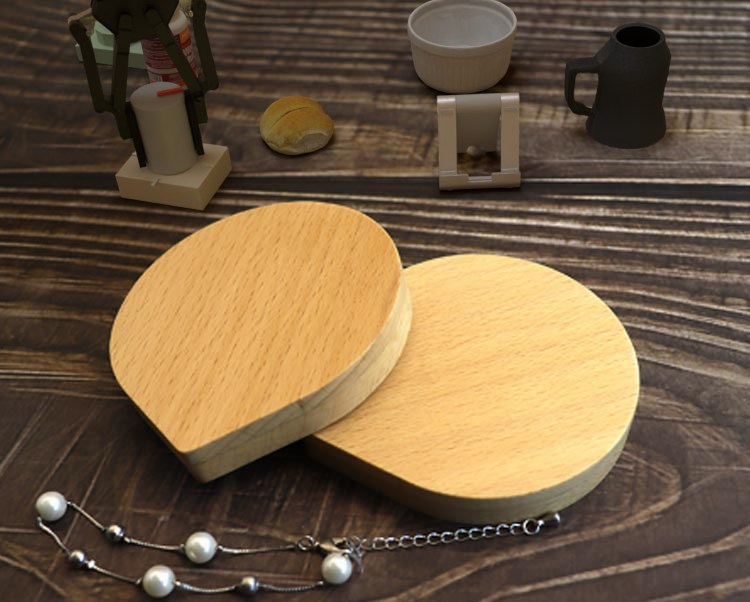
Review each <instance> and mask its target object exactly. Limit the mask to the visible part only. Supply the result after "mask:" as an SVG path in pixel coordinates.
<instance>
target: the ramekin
mask: <svg viewBox="0 0 750 602" xmlns="http://www.w3.org/2000/svg"><path fill="white" fill-rule="evenodd" d="M517 19H518V18H517V15H516V14H515V13H514V11H513V10H512V9H511V8H510V7H508V6H507V4H504V3H502V2H500V1H498V0H428V1H426V2H424V3H422V4H420V5H419V6H417V8H415V9H414V10H413V11H411V13H410V15H409V17H408V19H407V36H408V39H409V42H410V48H411V49H410V50H411V56H412V61H413V62H412V63H413V67H414V70H415V72H416V73H415V74H417V76H418V78H419V79H420V80H421V81H422V82H423V83H424V84H425V85H426V86H428V87H429V88H432V89H433V90H436V91H439V92H441V93H442V92H443V93H446V94H447V93H448V94H453V95H469V94H476V93H479V92H482V91H485V90H488V89H490V88H491V87H494V86H495V85H496V84H498V83H499V81H501V80H502V79H503V78H504V77H505V75H506V73H507V72H508V69H509V67H510V62H511V59H512V58H511V57H512V52H513V47H514V46H513V45H514V40H515V39H516V36H517V33H518V20H517Z"/></svg>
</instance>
